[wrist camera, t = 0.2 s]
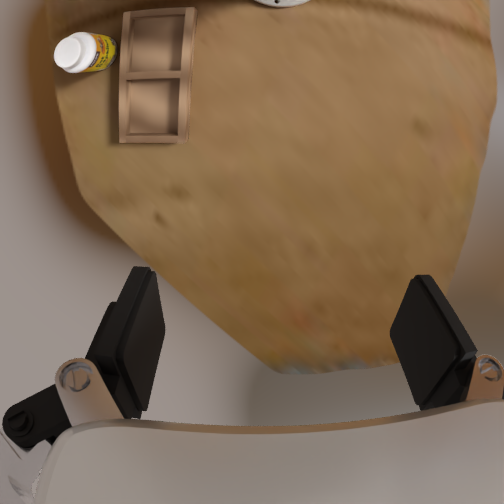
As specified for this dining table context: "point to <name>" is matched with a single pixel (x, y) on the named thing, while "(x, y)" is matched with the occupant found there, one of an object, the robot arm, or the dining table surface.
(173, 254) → the dining table surface
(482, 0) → the dining table surface
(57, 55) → the supplement bottle
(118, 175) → the dining table surface
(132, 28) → the divided well tray
